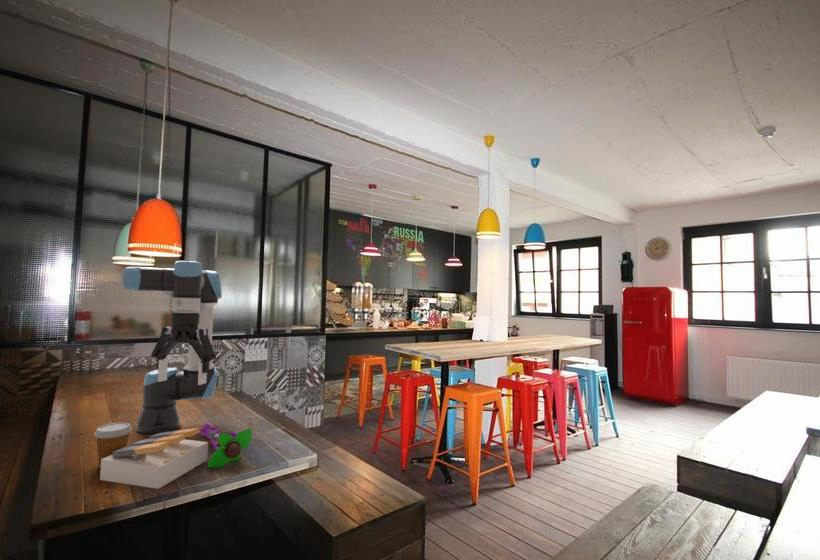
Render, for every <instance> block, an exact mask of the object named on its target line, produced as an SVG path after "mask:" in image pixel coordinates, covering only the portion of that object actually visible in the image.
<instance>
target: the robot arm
mask: <svg viewBox="0 0 820 560" xmlns="http://www.w3.org/2000/svg"><path fill="white" fill-rule="evenodd" d="M221 281H222V280H221V275H220V273H219V272H218V271H215V270H209V269H204V270H203V264H202V262H198V261H192V260H191V261H190V260H189V261H188V260H177V261H175V262H174V267H173V268H164V267H163V268H161V267H149V266H148V267H145V266H144V267H143V266H127V267H125V269H124V270H123V274H122V287H123V289H124V290H126V291H131V292H132V291H133V292H154V293H156V294H158V295H163V296H168V297H172V301H171V310H172V311H173V312H172V313H171V316H170V324H171V326H164V327H163V326H162V328H161V334H160V336H159V338H158V340H157V342H156V344H155V345H154V348H153V349H152V352H151V354H150V356H151V357H152V358H156V360H157V361H156V369H154V370H152V371H149V372H147V373H146V374H145V375H144V378H143V384H142V386H143V387H142V388H143V393H142V406H141V407H142V409H141V412H140V414H139V418H138V421H137V422H136V424H135V431H136V432H137V433H142V434H158V433H163V432H170V431H173V430H174V429H176V428H178V427H180V423H181V418H180V416H179V412H178V409H177V401H185V400H186V401H187V400H203V399H210V398H212V397H214V396H215V395H214V394H215V389H216V384H217V380H218V376H219V375H218V374H219V370H218V369H215V367H216V366H215V364H214V363H213V362H212V361H214V360H216V359H217V356H216V353H215V350H214V348H213V345H212V344H213V328H214V323H213V322H214V307H215V306H216V305H217V304H218V303H219V300H220V299H222V297H223V294H222V282H221ZM178 343H179V344H180V343H183V344H188V357H187V359H188V360H187V364H185V366H184V367H183V371H179V369H178V367H169V366H168V365H169V358H168V355H169V354H170V353H171V352H172V350H173V349H174V348H175V347H176V346H177V344H178Z"/></svg>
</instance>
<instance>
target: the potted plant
mask: <svg viewBox="0 0 820 560" xmlns="http://www.w3.org/2000/svg"><path fill="white" fill-rule="evenodd" d="M199 434H200V435H201V436H205V437H207V438H208V440H209V439H210V442H211V444H212V445H213V450H214V452H213V453H212V454H211V457H210V459H209V461H208V463H207V468H208V467H211V468H217V467H223V466H226V465H227V464H228V463H229V462H236V460H237V461H239V460H241V453H242V449H243V450H246V449H247V447H248V446H249V445H250V443H251V440H252V435H253V429H252V428H248V429H245V430H244V429H243V430H241V431H239V432H238V433H235V432H234V431H230V432H222V431H221V430H220V431H219V430H218V428H217V427H216V426H212V425H211V424H209V423H205V424H204V425H203V428H201V429H200V433H199ZM218 445H219V446H220V447H219V446H218Z"/></svg>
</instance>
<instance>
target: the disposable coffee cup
mask: <svg viewBox="0 0 820 560" xmlns="http://www.w3.org/2000/svg"><path fill="white" fill-rule="evenodd" d="M132 429H133V427H131V424H130V422H129V423H128V422H113V423H108V424H103V425H101V426H99V427H97V428H96V430H95V432H94V436H95V437H96V448H97V458H98V468H99V469H101V459H103V458H105V457H108V456H110V455H112V452H114V451H117V450H119V449H121V448H124V447H128V443H129V438H130V433H131V431H132Z"/></svg>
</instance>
